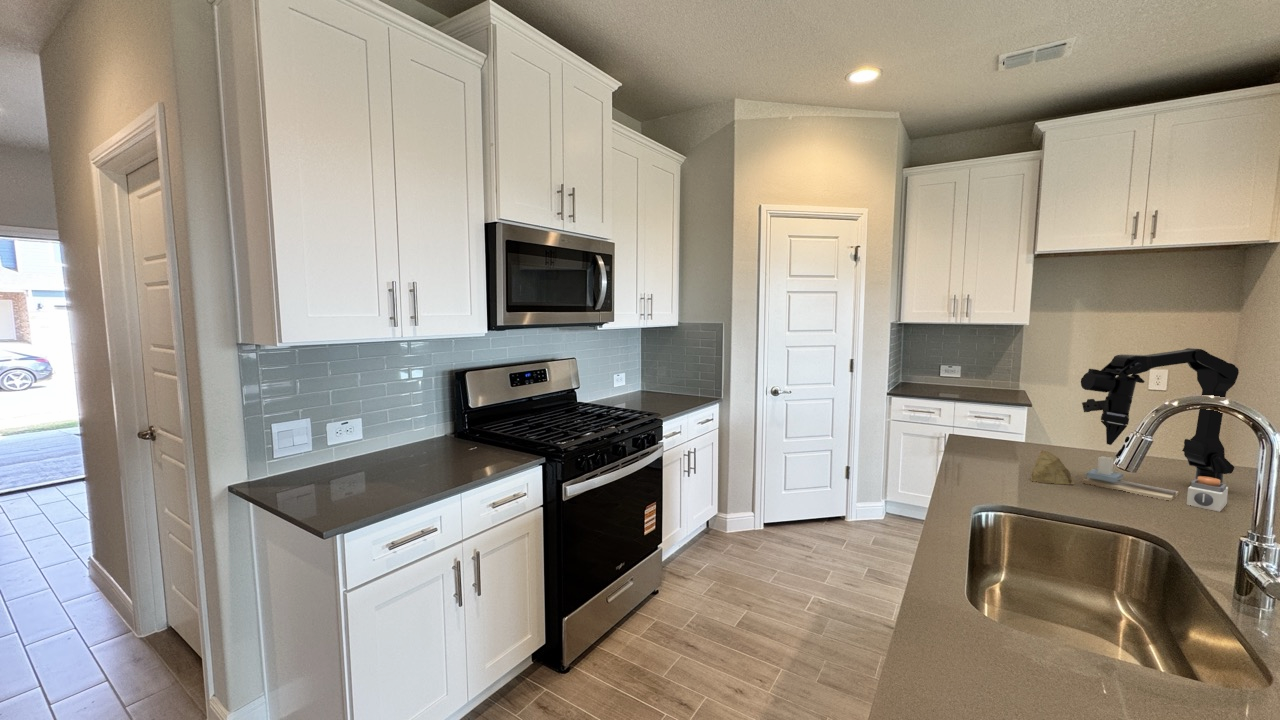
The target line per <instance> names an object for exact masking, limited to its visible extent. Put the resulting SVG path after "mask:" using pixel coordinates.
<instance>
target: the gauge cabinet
mask: <svg viewBox="0 0 1280 720" xmlns="http://www.w3.org/2000/svg"><path fill="white" fill-rule="evenodd" d="M1228 493H1229V486H1227V484H1226V483H1223V484H1222V483H1220V486H1211V485H1205V484H1201V483H1198V482H1197V479H1195V478H1194V479H1193V480H1191V482H1190V486H1188V487H1187V495H1186V496H1187V497H1186V506H1190V505H1191V506H1190V507H1195V508H1200V509H1204V510H1205V509H1206V510H1210V511H1214V512H1220V513H1221V511H1222V510H1223V509H1224V508H1225V507H1226V505H1227V503H1228Z"/></svg>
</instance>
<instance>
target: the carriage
mask: <svg viewBox="0 0 1280 720" xmlns="http://www.w3.org/2000/svg"><path fill="white" fill-rule="evenodd" d="M1114 461H1115V460H1114V457H1111V456H1109V457H1108V456H1104V455H1101V456H1099V457H1098V459H1097V468H1093V469H1091V470H1089V471H1087V472H1086V477H1090V478H1095V479H1100V480H1105V481H1110V482H1117V481H1119V480H1123V478H1124V473H1122V472H1118V471H1117V472H1115V471H1114Z"/></svg>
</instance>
